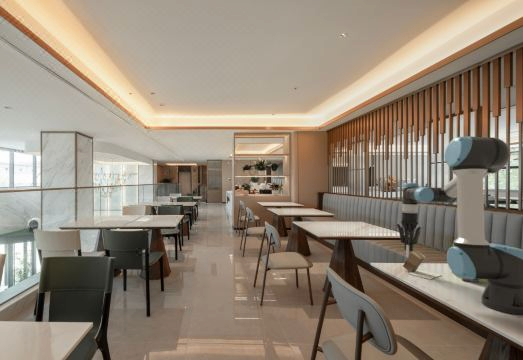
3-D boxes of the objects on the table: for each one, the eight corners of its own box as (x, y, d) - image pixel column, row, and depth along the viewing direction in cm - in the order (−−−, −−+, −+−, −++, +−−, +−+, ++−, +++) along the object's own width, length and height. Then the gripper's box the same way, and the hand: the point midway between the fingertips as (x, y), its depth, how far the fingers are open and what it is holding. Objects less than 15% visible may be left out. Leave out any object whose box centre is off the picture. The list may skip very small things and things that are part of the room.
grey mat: (430, 279, 157) (430, 278, 157) (407, 274, 165) (408, 273, 165) (441, 275, 164) (441, 275, 164) (419, 270, 173) (419, 269, 173)
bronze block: (410, 272, 168) (420, 258, 164) (402, 266, 171) (412, 251, 167) (415, 271, 171) (425, 256, 167) (407, 264, 174) (417, 250, 171)
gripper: (425, 213, 169) (424, 258, 169) (401, 210, 179) (400, 253, 179) (418, 213, 164) (417, 260, 164) (394, 211, 174) (393, 255, 174)
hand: (408, 257), depth 171 cm, fingers closed
